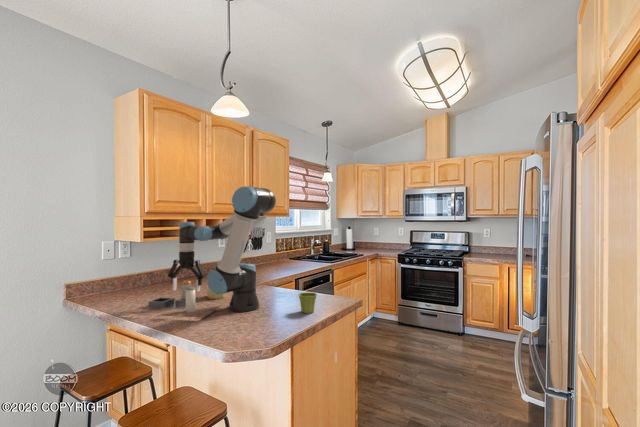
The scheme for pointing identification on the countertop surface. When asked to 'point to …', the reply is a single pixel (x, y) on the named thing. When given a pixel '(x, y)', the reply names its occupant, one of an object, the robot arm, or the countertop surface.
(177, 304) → the dock
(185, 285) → the pin
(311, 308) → the plant pot
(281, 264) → the countertop surface
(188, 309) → the cream round peg
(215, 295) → the sculpture
